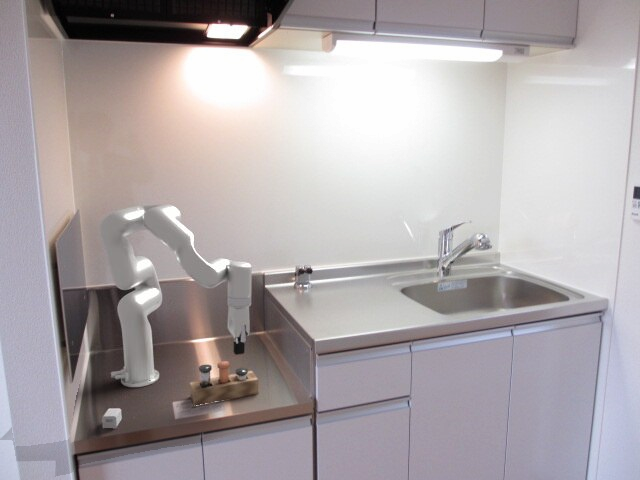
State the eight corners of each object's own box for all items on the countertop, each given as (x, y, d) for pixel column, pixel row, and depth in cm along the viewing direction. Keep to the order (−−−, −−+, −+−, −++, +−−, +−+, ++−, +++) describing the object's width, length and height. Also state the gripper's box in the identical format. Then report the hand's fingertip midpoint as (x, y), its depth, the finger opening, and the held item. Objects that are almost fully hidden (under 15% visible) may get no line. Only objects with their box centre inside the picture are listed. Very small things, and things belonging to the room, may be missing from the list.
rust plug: (219, 387, 165) (219, 367, 164) (216, 381, 169) (216, 362, 167) (231, 384, 167) (231, 365, 165) (228, 379, 170) (228, 360, 169)
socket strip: (194, 406, 161) (194, 392, 160) (190, 396, 167) (189, 382, 166) (258, 393, 170) (258, 379, 169) (252, 384, 176) (251, 370, 175)
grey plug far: (238, 393, 168) (237, 374, 167) (234, 387, 172) (234, 368, 170) (249, 390, 170) (249, 371, 168) (246, 385, 173) (245, 366, 172)
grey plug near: (201, 390, 163) (200, 370, 161) (198, 385, 166) (197, 365, 165) (213, 388, 164) (212, 368, 163) (210, 382, 168) (209, 363, 166)
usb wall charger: (102, 428, 149) (101, 416, 148) (111, 416, 156) (110, 404, 155) (116, 428, 149) (115, 416, 148) (124, 415, 156) (123, 403, 155)
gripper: (222, 294, 170) (222, 346, 173) (234, 309, 156) (234, 364, 160) (243, 292, 173) (243, 343, 177) (257, 306, 160) (257, 360, 163)
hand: (239, 353), depth 168 cm, fingers closed
